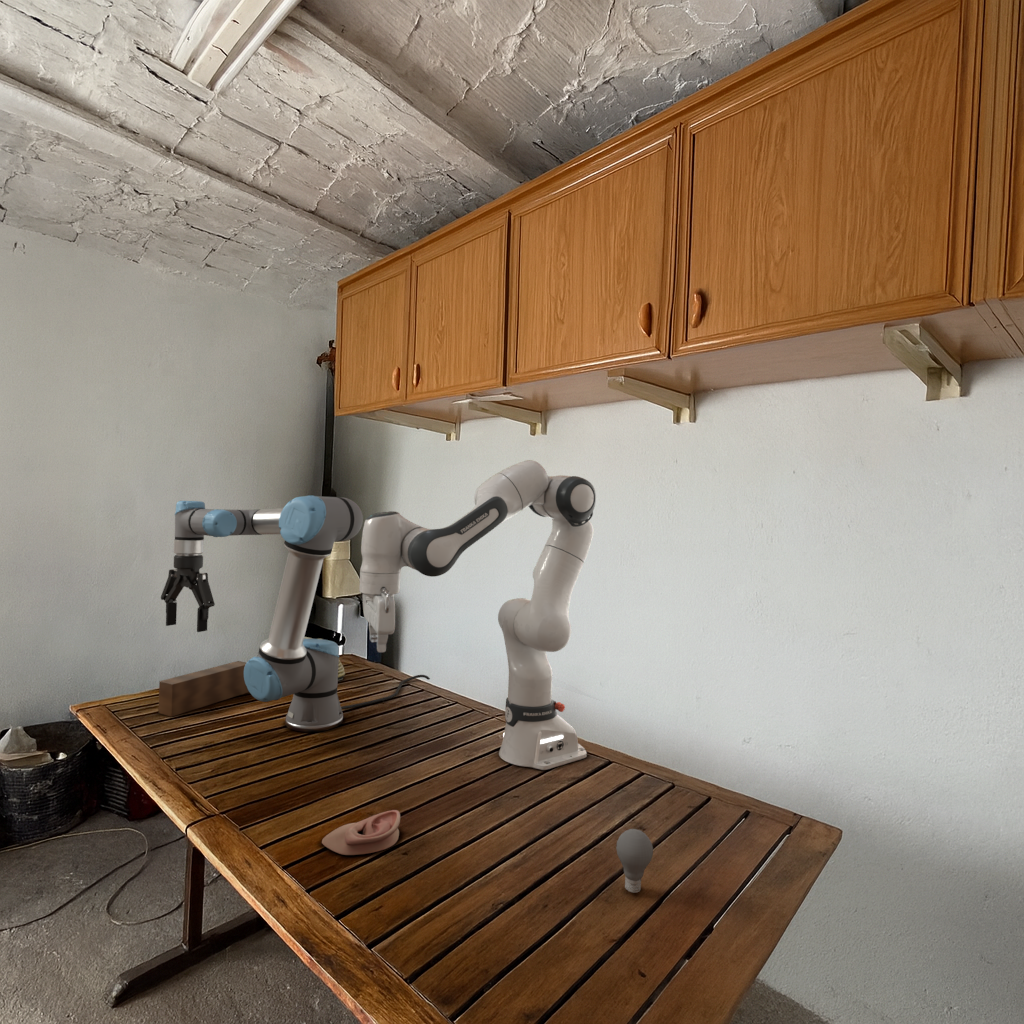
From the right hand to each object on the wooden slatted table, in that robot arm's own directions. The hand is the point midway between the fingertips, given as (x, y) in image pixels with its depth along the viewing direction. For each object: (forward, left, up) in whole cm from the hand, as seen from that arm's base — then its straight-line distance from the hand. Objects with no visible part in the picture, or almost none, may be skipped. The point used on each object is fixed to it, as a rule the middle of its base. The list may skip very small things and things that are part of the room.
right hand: (377, 646), depth 141 cm
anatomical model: (+8, +23, -31) cm, 39 cm away
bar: (+31, -71, -31) cm, 83 cm away
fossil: (-3, -82, -31) cm, 87 cm away
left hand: (+38, -66, -7) cm, 76 cm away
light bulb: (-29, +55, -31) cm, 70 cm away
